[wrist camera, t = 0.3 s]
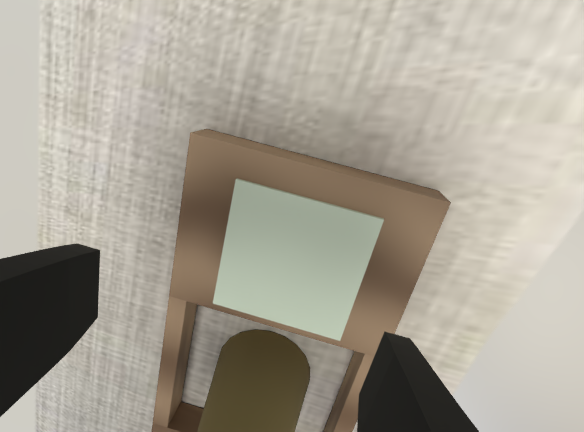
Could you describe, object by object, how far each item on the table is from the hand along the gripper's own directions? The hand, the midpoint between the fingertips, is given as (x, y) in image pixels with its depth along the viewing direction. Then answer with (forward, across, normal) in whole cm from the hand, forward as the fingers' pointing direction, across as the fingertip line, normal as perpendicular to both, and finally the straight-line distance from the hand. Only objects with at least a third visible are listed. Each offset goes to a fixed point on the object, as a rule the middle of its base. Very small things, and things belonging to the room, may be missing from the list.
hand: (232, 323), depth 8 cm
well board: (+10, -1, +7) cm, 12 cm away
